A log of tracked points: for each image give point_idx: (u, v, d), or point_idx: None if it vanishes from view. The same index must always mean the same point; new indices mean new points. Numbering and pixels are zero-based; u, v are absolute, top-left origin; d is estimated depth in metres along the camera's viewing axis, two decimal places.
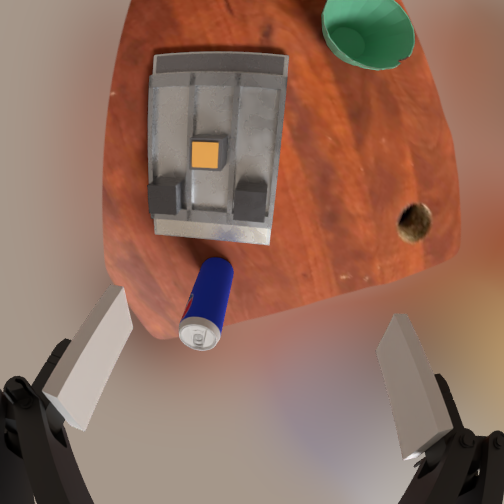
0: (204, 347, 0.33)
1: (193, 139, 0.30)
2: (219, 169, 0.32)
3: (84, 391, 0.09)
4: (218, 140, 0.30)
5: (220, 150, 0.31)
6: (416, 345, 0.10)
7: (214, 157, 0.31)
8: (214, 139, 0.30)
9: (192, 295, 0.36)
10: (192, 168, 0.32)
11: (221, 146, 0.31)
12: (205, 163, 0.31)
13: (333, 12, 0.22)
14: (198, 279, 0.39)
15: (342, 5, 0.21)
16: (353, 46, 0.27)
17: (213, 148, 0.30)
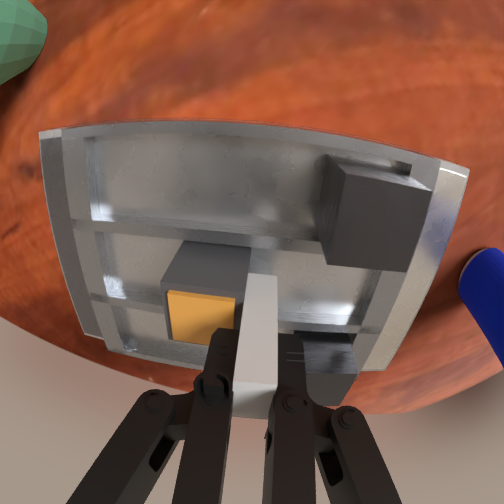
0: None
1: (170, 334, 0.14)
2: (239, 294, 0.12)
3: None
4: (164, 290, 0.12)
5: (188, 288, 0.12)
6: (270, 302, 0.12)
7: (205, 305, 0.12)
8: (164, 296, 0.13)
9: None
10: None
11: (178, 284, 0.12)
12: (223, 323, 0.13)
13: None
14: (488, 340, 0.13)
15: None
16: None
17: (182, 305, 0.12)
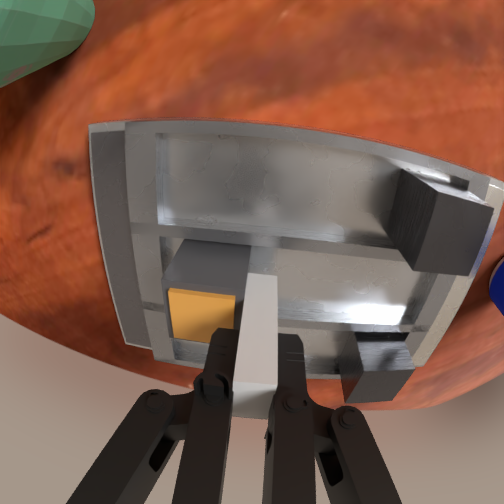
0: None
1: (171, 332, 0.14)
2: (239, 292, 0.12)
3: None
4: (165, 288, 0.13)
5: (189, 286, 0.12)
6: (270, 302, 0.12)
7: (205, 303, 0.12)
8: (165, 294, 0.13)
9: None
10: None
11: (179, 282, 0.12)
12: (223, 321, 0.13)
13: None
14: None
15: None
16: None
17: (183, 302, 0.13)
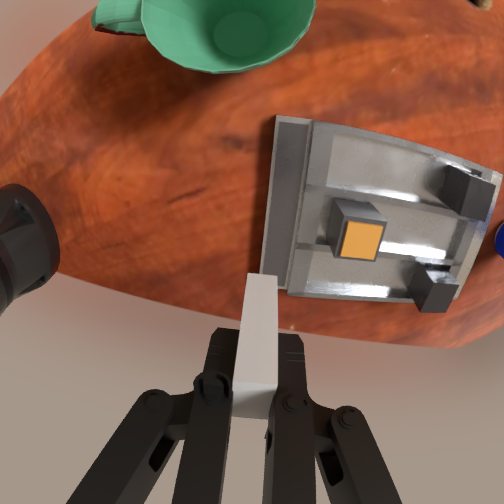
0: None
1: (337, 253, 0.23)
2: (384, 223, 0.21)
3: None
4: (345, 221, 0.21)
5: (359, 219, 0.21)
6: (271, 302, 0.12)
7: (368, 229, 0.21)
8: (342, 226, 0.21)
9: None
10: (375, 257, 0.23)
11: (354, 217, 0.21)
12: (374, 241, 0.22)
13: (197, 54, 0.16)
14: None
15: (181, 43, 0.15)
16: (246, 25, 0.18)
17: (355, 229, 0.21)
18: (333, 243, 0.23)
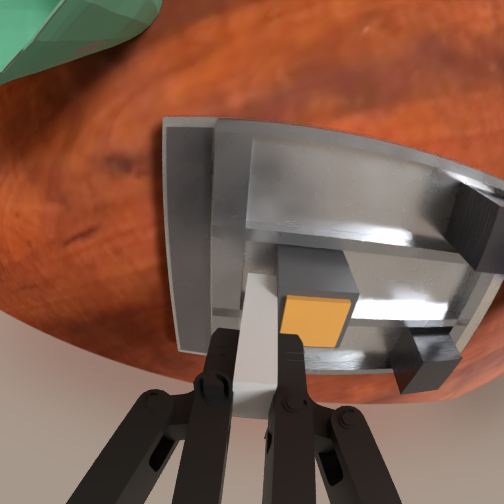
0: None
1: None
2: (354, 296, 0.13)
3: None
4: (281, 295, 0.13)
5: (307, 292, 0.13)
6: (270, 302, 0.12)
7: (323, 308, 0.13)
8: (278, 302, 0.13)
9: None
10: (338, 343, 0.14)
11: (298, 289, 0.13)
12: (334, 324, 0.13)
13: None
14: None
15: (20, 44, 0.07)
16: None
17: (300, 309, 0.13)
18: None
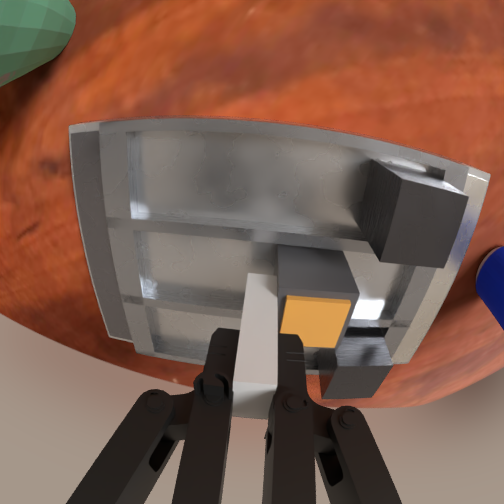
0: None
1: None
2: (354, 296, 0.13)
3: None
4: (281, 295, 0.13)
5: (308, 292, 0.13)
6: (270, 302, 0.12)
7: (323, 308, 0.13)
8: (278, 302, 0.13)
9: None
10: (338, 343, 0.14)
11: (298, 289, 0.13)
12: (334, 324, 0.13)
13: None
14: None
15: None
16: None
17: (300, 309, 0.13)
18: None
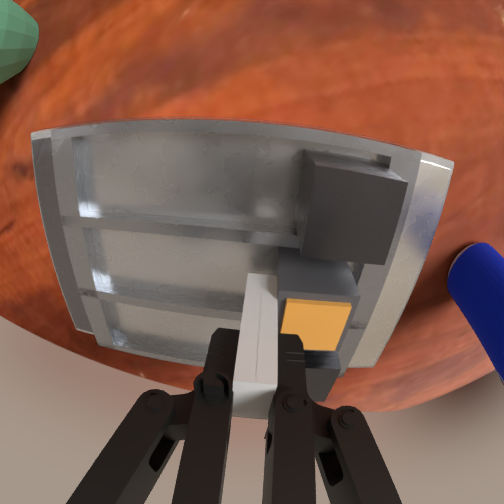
0: None
1: None
2: (355, 299, 0.12)
3: None
4: (281, 298, 0.13)
5: (308, 295, 0.12)
6: (270, 302, 0.12)
7: (323, 311, 0.12)
8: (278, 305, 0.13)
9: (500, 377, 0.10)
10: (338, 346, 0.14)
11: (298, 292, 0.12)
12: (335, 327, 0.13)
13: None
14: (478, 336, 0.13)
15: None
16: None
17: (300, 312, 0.13)
18: None
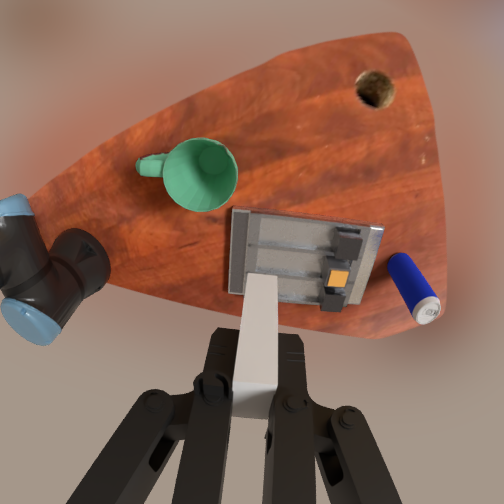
0: (438, 309, 0.37)
1: (326, 284, 0.47)
2: (349, 270, 0.45)
3: None
4: (329, 270, 0.45)
5: (337, 269, 0.45)
6: (270, 302, 0.12)
7: (341, 273, 0.45)
8: (328, 272, 0.46)
9: None
10: (345, 286, 0.47)
11: (334, 268, 0.45)
12: (344, 278, 0.46)
13: (190, 185, 0.41)
14: None
15: (182, 180, 0.40)
16: (216, 156, 0.43)
17: (334, 273, 0.45)
18: (324, 279, 0.48)
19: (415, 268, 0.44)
